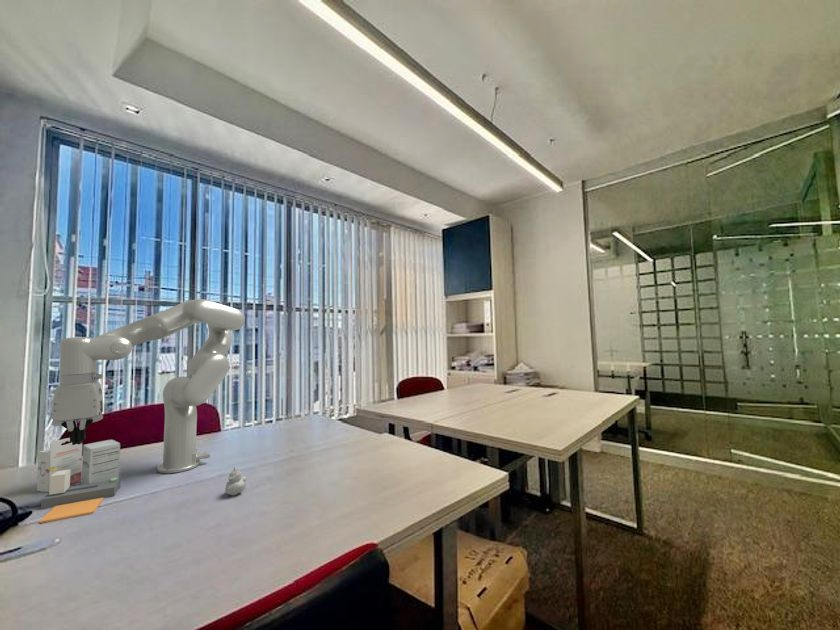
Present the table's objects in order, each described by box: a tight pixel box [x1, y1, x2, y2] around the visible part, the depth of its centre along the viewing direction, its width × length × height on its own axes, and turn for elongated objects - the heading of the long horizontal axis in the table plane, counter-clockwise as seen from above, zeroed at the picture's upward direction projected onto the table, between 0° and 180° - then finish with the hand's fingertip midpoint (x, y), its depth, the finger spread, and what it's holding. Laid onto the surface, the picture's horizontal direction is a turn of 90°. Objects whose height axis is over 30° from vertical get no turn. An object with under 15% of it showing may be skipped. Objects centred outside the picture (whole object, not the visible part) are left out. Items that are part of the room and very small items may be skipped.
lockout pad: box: [39, 497, 105, 525], centre depth 92 cm, size 10×9×1 cm
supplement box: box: [80, 439, 121, 485], centre depth 108 cm, size 7×7×13 cm
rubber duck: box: [224, 466, 247, 496], centre depth 102 cm, size 5×7×8 cm
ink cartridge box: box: [36, 437, 83, 493], centre depth 107 cm, size 9×5×15 cm, turn 168°
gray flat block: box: [40, 477, 122, 510], centre depth 99 cm, size 15×7×3 cm, turn 119°
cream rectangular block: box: [48, 469, 71, 495], centre depth 97 cm, size 3×4×5 cm
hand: (78, 443), depth 100 cm, fingers closed
